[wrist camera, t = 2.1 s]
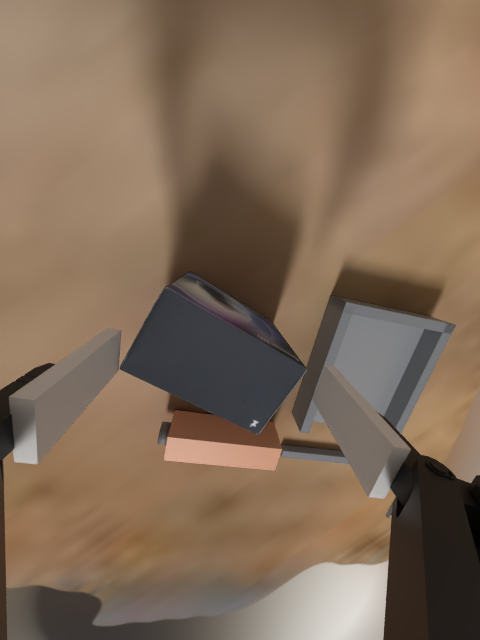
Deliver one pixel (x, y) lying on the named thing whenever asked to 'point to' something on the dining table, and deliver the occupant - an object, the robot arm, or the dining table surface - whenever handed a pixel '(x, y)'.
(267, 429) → the bar
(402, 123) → the dining table surface
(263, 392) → the small box
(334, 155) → the dining table surface
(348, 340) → the tray
